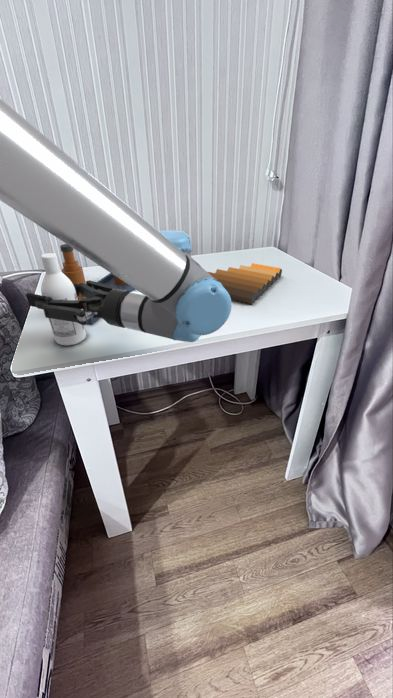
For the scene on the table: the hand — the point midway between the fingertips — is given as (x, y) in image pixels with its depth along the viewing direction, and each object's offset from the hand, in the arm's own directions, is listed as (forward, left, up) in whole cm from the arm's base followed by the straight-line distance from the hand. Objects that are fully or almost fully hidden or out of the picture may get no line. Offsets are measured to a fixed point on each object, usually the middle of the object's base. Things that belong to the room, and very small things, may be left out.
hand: (42, 292), depth 72 cm
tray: (+17, +14, -11) cm, 24 cm away
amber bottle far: (+25, +21, -10) cm, 34 cm away
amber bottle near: (+8, +7, -10) cm, 15 cm away
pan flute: (+55, +3, -11) cm, 56 cm away
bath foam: (+3, -4, -11) cm, 12 cm away
